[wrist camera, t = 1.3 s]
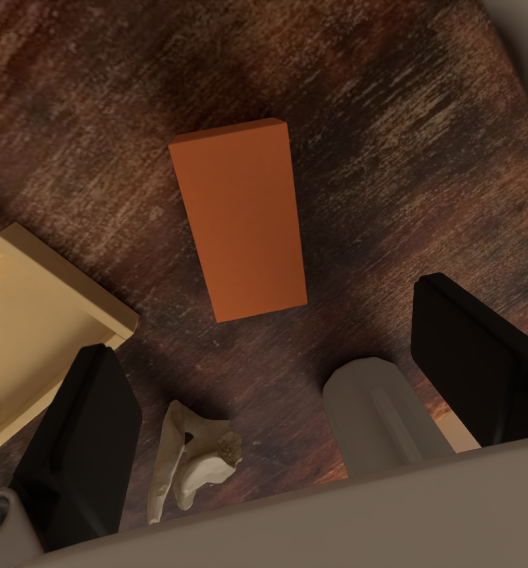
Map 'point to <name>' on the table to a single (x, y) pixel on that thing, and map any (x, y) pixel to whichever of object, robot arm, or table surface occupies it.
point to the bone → (191, 457)
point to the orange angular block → (243, 215)
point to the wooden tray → (46, 324)
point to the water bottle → (379, 418)
